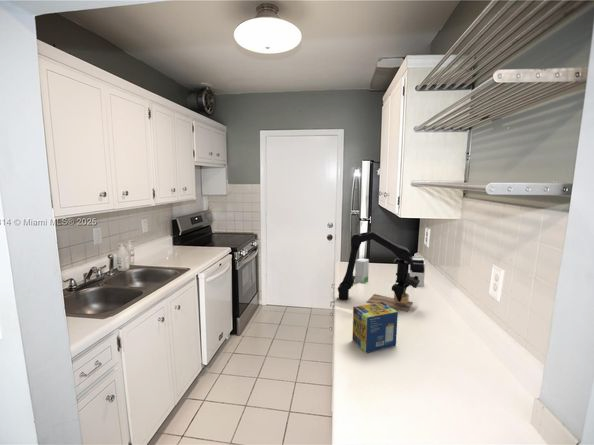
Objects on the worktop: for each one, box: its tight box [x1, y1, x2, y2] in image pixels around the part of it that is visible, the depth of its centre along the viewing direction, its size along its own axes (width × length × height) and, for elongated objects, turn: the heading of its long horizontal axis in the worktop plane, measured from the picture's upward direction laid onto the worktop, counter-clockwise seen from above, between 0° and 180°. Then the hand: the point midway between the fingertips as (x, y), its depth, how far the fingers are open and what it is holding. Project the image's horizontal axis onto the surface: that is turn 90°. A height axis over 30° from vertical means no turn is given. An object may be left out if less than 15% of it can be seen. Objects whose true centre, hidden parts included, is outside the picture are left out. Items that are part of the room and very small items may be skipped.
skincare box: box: [354, 258, 370, 285], centre depth 199 cm, size 8×7×16 cm
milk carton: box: [409, 256, 426, 287], centre depth 194 cm, size 7×7×19 cm
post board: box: [366, 293, 414, 313], centre depth 164 cm, size 14×22×6 cm, turn 57°
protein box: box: [351, 302, 399, 354], centre depth 126 cm, size 10×15×16 cm
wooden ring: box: [393, 292, 410, 303], centre depth 160 cm, size 7×7×4 cm
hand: (401, 299), depth 160 cm, fingers closed on wooden ring, 7 cm apart
